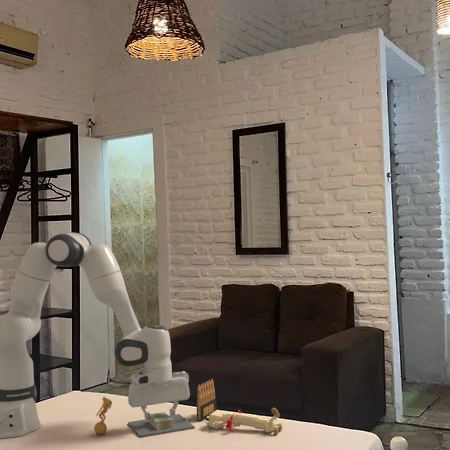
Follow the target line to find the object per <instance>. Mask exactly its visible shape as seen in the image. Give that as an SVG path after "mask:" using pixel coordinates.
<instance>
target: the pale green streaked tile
mask: <svg viewBox="0 0 450 450" xmlns="http://www.w3.org/2000/svg"><path fill="white" fill-rule="evenodd" d="M149 423H150V424H151V425H152V426H153V427H154V428H155V429H156V430H162V429H168V428H174V426H173V419H172V418H171V417H170V416H169V415H168V414H167V412H165V411H162V412H156V413H150V419H149Z"/></svg>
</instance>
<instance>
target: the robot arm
mask: <svg viewBox="0 0 450 450" xmlns="http://www.w3.org/2000/svg"><path fill="white" fill-rule="evenodd" d="M77 266H79V267H81V268H82V269H83V271H84V273H85V275H86V278H87V281H88V284H89V287H90V289H91V292H92V293H93V295H94V297H95V298H96V300H97V301H98V302H100V303H101V304H104V305H105V306H107V307H109V308H110V309H111V310H112V311H113V313H114V315H115V317H116V319H117V322H118V324H119V327H120V329H121V332H122V339H120V340H119V341H118V343H117V344H116V345H115V346H114V357H115V358H116V361H117V362H118V363H119V364H120V365H121V366H124V367H134V366H139V365H142V364H143V365H144V368H143V369H141V370H140V371H138V372H135V373H133V374H131V375H130V380H131V383H130V385H129V386H128V393H127V396H128V397H127V400H128V401H127V402H128V405H129V406H130V407H131V408H140V409H141V410H142V412H143V413H144V419H150V414H151V413H150V412H148V411H147V409H148V408H147V407H148V406H152V405H153V406H154V405H160V404H166V403H173V404H172V407H171V408H169V415H176V410H177V408H178V405H179V401H186V400H189V398H190V396H191V393H190V386H189V382H190V379H189V378H190V376H189V373H187V372H185V371H177V372H176V371H174V372H173V368H172V361H171V353H172V348H171V347H172V346H171V337H170V333H169V329H168V328H167V327H165V326H163V325H160V324H147V325H145V326H144V327H141V326H142V325H141V324H140V322H139V320H138V317H137V315H136V313H135V310H134V308H133V305H132V302H131V300H130V298H129V294H128V291H127V287H126V283H125V280H124V276H123V274H122V271H121V267H120V265H119V263H118V261H117V259H116V257H115V254H114V252H113V251H112V249H111V248H110V246H108V245H107V244H105V243H93V244H92V243H91V240H90V239H89V238H88V237H87V236H86V235H85V234H83V233H80V232H74V231H73V232H70V231H69V232H64V233H58V234H55V235H53V236H52V237H51V238H50V239H48V241H47V243H45V242H41V241H39V242H34V243H32V244H31V245H30V246H29V247H28V249H27V250H26V252H25V254H24V255H23V258H22V259H21V262H20V264H19V267H18V268H17V272H16V275H15V277H14V280H13V282H12V285H11V289H10V291H9V292H10V296H11V300H10V306H9V307H10V308H9V310H8V312H7V313H4V314H1V315H0V439H5V438H14V437H15V438H17V437H23V436H25V435H26V434H28V433H30V432H33V431H35V430H38V429H39V428H41V425H42V424H41V421H40V419H39V415H38V410H37V405H36V404H37V403H36V401H37V387H36V384H35V379H34V378H35V376H34V375H35V374H34V360H33V359H32V358H31V357H30V355H29V351H28V349H27V344H26V343H27V342H28V341H30V340H31V339H33V338H34V337H35V336H36V335H37V334H38V333H39V332H40V329H41V327H42V320H41V315H42V306H43V302H44V298H45V295H46V294H47V293H46V292H47V291H48V288H49V285H50V282H51V280H52V276H53V274H54V271H55V269H56V268H57V267H63V268H64V267H77Z"/></svg>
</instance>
